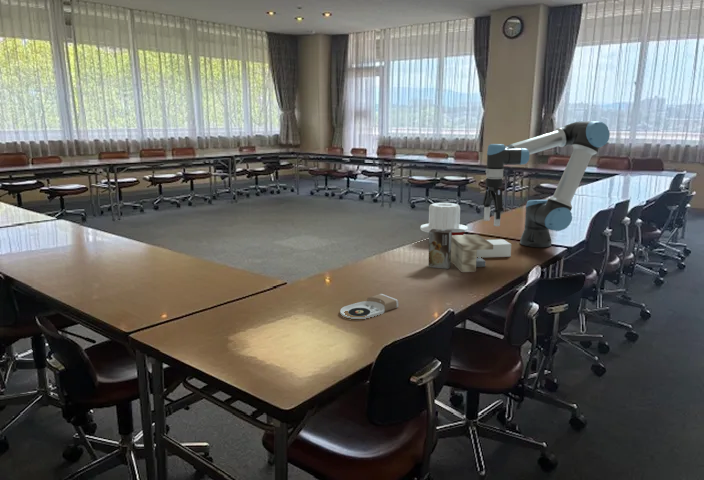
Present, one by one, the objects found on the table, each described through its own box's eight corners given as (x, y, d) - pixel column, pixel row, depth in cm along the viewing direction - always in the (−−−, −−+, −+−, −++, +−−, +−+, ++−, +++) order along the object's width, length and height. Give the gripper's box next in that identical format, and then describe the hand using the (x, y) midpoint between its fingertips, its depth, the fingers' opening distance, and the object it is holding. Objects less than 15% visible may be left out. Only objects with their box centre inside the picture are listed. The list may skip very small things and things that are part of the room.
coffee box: (451, 265, 224) (452, 229, 220) (448, 269, 218) (449, 232, 215) (431, 263, 227) (432, 228, 224) (427, 267, 222) (428, 231, 218)
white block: (502, 251, 247) (503, 239, 246) (510, 256, 237) (511, 244, 236) (470, 252, 246) (471, 240, 244) (477, 257, 236) (477, 245, 235)
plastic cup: (463, 250, 249) (464, 226, 246) (465, 256, 238) (466, 231, 236) (440, 250, 250) (441, 226, 247) (442, 256, 239) (443, 231, 237)
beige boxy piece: (476, 258, 234) (477, 234, 232) (491, 271, 215) (493, 244, 212) (449, 259, 233) (449, 235, 230) (461, 272, 214) (462, 245, 211)
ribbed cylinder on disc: (415, 235, 284) (416, 201, 280) (458, 233, 287) (459, 200, 283) (426, 245, 260) (427, 209, 256) (473, 243, 263) (475, 207, 259)
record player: (400, 300, 172) (354, 315, 160) (400, 309, 173) (355, 324, 161) (378, 292, 181) (333, 305, 169) (378, 300, 182) (333, 314, 170)
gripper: (477, 175, 245) (475, 218, 250) (496, 181, 221) (493, 228, 226) (492, 175, 246) (490, 218, 251) (512, 180, 222) (509, 228, 226)
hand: (491, 223), depth 238 cm, fingers open, 13 cm apart
